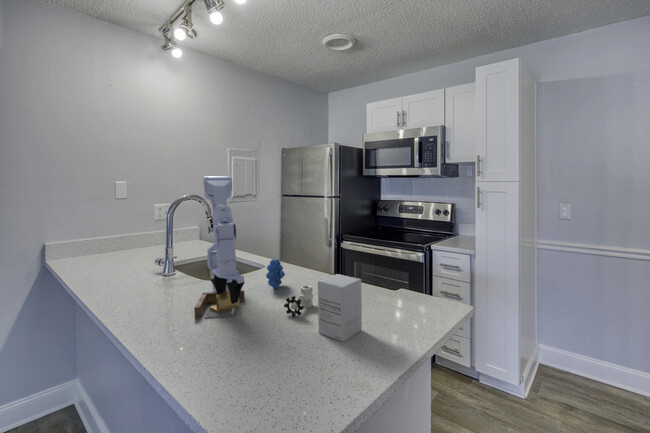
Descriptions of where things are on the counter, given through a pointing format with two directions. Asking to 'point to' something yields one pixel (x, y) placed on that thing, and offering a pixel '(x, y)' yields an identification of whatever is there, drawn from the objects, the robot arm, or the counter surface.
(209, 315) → the mat
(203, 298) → the corner walls
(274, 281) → the grapes
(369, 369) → the counter surface
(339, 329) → the supplement box
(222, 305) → the bronze bracket
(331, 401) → the counter surface
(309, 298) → the valve
